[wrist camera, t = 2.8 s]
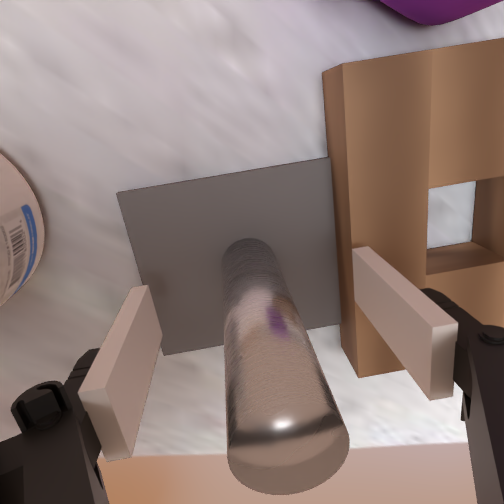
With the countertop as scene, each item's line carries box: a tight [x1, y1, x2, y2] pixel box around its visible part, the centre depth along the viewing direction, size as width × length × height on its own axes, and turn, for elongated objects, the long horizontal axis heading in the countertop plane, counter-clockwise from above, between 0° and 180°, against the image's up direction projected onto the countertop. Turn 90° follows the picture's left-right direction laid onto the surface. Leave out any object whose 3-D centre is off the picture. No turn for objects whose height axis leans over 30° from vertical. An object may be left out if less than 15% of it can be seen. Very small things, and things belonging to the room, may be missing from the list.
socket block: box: [322, 38, 504, 378], centre depth 19 cm, size 12×16×3 cm
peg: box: [222, 238, 349, 495], centre depth 14 cm, size 3×3×12 cm
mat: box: [116, 157, 342, 356], centre depth 20 cm, size 12×10×1 cm
